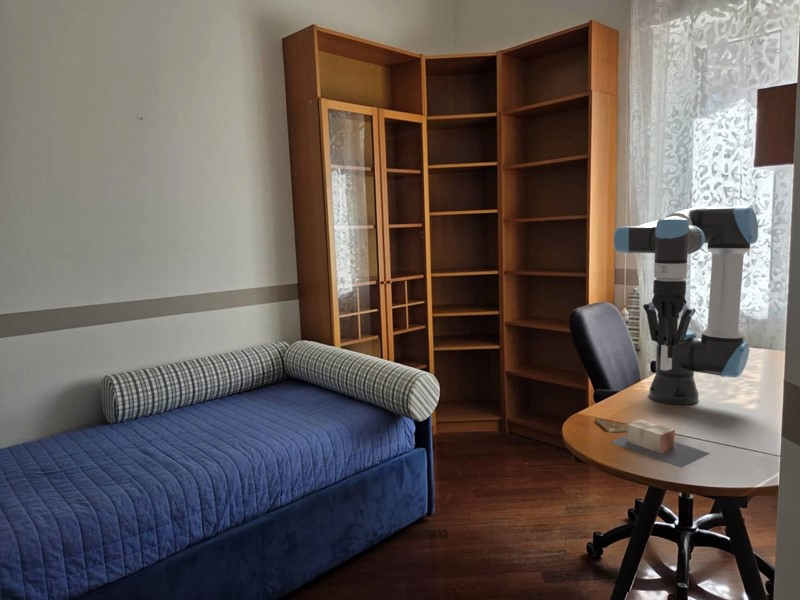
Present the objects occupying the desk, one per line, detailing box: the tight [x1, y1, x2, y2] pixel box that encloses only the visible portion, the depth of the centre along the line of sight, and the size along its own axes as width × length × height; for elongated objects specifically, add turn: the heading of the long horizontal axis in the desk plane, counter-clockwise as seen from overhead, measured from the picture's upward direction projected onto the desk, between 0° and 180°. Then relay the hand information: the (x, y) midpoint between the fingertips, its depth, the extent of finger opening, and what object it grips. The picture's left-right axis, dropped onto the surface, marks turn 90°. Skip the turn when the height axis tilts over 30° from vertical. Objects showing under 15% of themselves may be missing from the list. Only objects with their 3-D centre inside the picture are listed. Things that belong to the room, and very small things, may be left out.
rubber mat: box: [610, 435, 711, 469], centre depth 148 cm, size 14×20×1 cm
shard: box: [594, 417, 627, 433], centre depth 165 cm, size 11×8×2 cm
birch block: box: [626, 419, 676, 453], centre depth 150 cm, size 6×5×10 cm
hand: (665, 369), depth 144 cm, fingers closed
